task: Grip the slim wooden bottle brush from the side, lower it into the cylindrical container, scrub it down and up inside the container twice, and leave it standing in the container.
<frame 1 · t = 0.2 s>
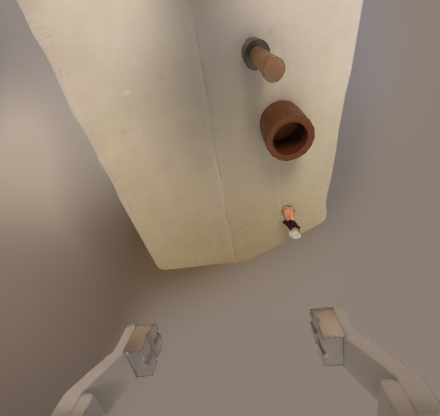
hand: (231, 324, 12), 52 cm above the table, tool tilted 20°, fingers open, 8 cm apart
grandmother figurine: (286, 209, 75), on the table
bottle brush: (252, 51, 47), on the table
cylindrical container: (279, 121, 56), on the table
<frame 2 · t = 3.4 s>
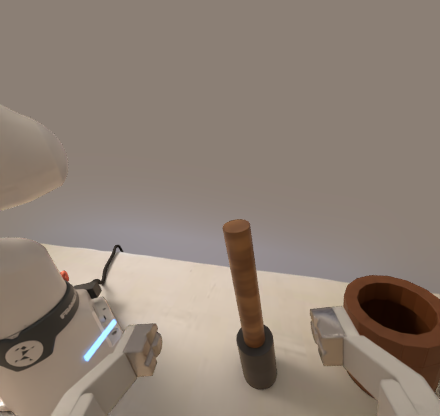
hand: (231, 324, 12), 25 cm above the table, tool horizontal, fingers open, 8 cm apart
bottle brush: (259, 370, 32), on the table
cylindrical container: (383, 364, 30), on the table
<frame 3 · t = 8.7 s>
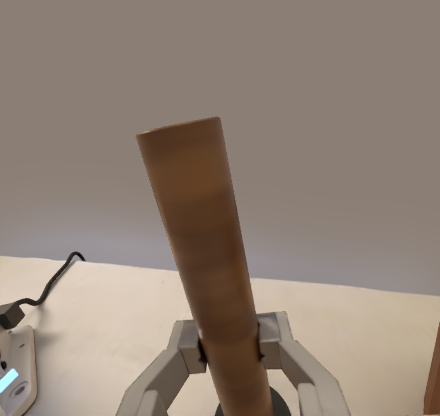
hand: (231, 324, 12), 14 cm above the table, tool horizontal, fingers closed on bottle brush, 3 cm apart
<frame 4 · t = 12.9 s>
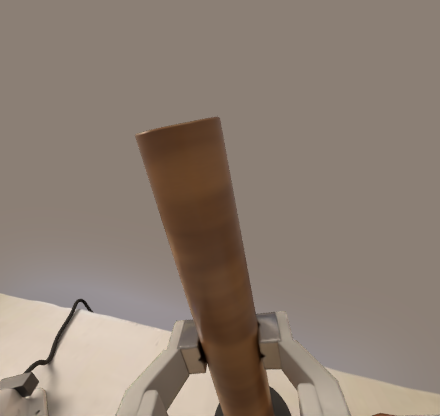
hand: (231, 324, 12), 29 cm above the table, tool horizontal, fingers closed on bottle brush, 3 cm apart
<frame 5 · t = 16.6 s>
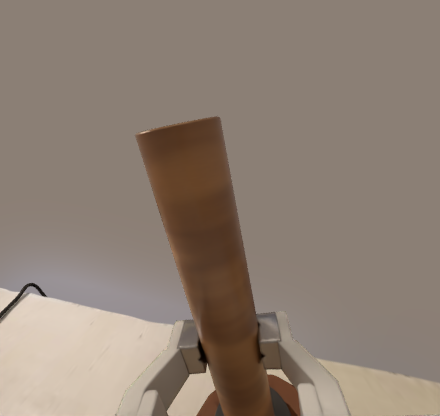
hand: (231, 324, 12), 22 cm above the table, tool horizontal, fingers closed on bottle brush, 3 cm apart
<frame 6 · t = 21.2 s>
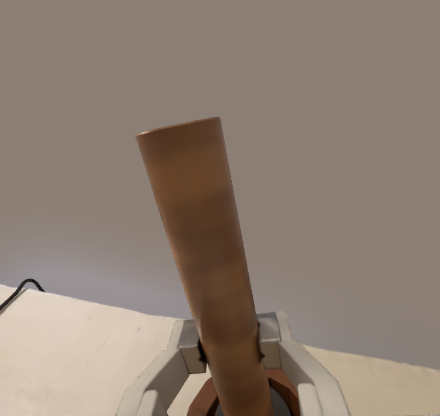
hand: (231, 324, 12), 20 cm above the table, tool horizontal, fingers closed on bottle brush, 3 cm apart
when the fingers open (15 cm above the table, at t = 24.7 s): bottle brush stays where it is, resting on cylindrical container.
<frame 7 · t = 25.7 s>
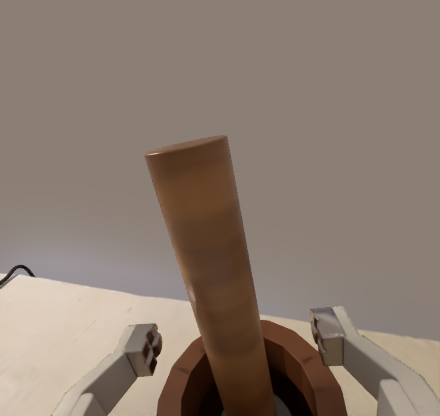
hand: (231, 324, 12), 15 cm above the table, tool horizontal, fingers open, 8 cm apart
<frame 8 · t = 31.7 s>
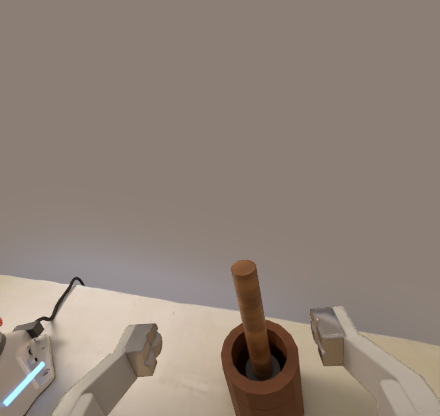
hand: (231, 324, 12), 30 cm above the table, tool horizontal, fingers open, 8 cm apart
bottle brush: (268, 399, 33), point 1 cm above the table, touching cylindrical container
cylindrical container: (268, 401, 33), on the table
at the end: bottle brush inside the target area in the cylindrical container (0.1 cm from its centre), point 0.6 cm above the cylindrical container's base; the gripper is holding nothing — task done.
